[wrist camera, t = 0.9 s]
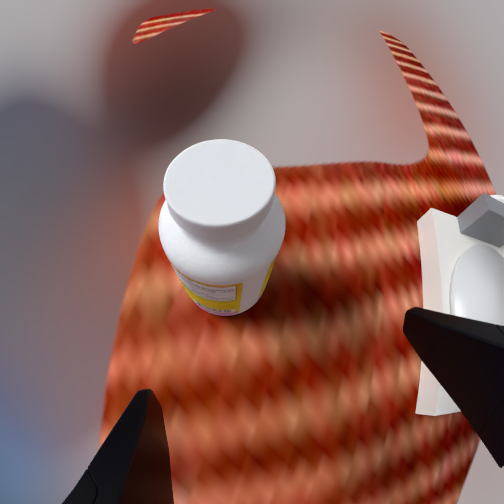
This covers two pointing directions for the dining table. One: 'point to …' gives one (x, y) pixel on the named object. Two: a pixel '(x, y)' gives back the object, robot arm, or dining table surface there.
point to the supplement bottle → (222, 224)
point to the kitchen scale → (461, 277)
